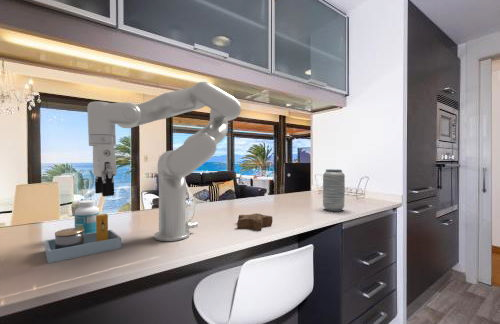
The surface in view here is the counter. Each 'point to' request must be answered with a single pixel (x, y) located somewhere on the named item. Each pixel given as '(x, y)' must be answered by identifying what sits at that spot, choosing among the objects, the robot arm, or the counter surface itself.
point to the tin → (69, 237)
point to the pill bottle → (86, 216)
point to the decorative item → (254, 221)
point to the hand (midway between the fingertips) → (104, 194)
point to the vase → (333, 190)
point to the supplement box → (101, 227)
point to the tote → (82, 247)
